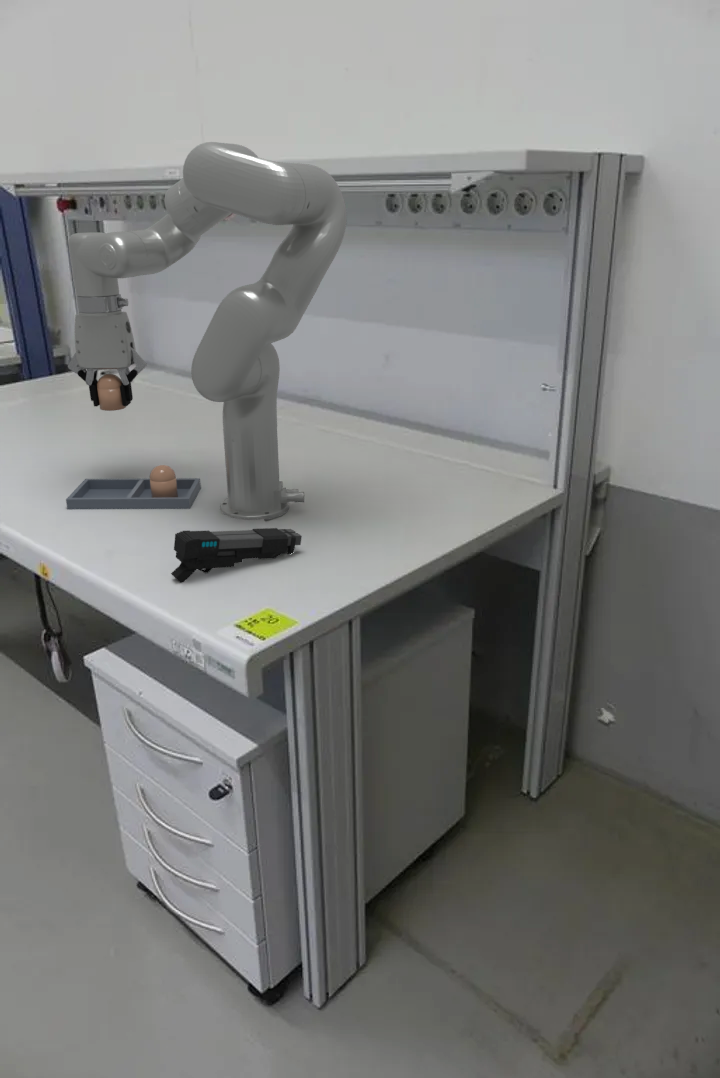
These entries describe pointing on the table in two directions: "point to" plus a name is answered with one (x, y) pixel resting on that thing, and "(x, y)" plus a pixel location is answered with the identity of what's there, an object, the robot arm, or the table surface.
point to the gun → (229, 548)
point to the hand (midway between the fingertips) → (112, 403)
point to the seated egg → (163, 482)
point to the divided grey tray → (130, 494)
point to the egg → (110, 392)
